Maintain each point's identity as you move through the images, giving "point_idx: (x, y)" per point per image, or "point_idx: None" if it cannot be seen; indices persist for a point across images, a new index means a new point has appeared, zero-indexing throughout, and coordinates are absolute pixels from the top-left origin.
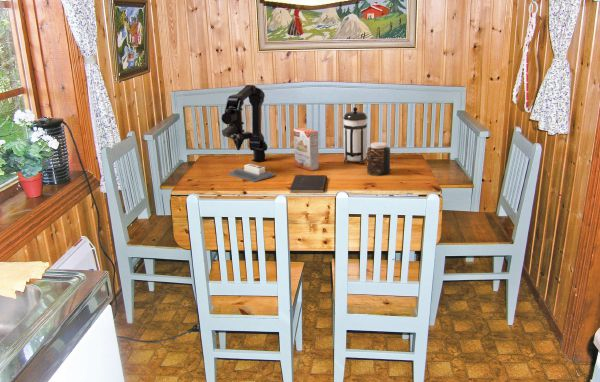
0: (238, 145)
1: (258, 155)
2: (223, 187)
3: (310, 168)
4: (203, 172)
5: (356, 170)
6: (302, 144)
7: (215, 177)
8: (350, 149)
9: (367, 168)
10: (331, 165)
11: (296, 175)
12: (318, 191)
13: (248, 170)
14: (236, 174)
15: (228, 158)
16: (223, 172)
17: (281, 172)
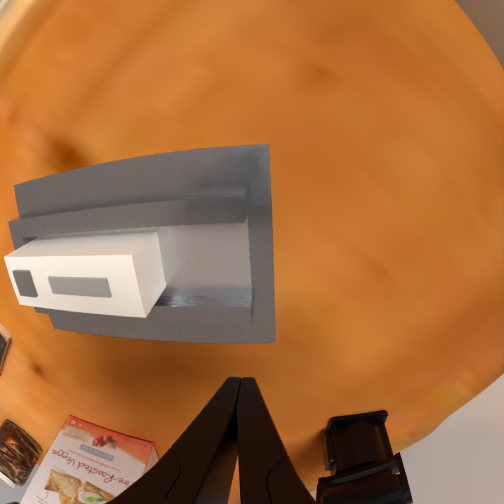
0: (182, 440)
1: (346, 447)
2: (62, 7)
3: (66, 421)
4: (456, 78)
5: (44, 440)
6: (67, 499)
7: (281, 36)
8: None
9: (15, 435)
10: None
11: (1, 341)
12: None
13: (100, 243)
14: (162, 160)
15: (501, 353)
16: (355, 159)
17: (97, 372)
